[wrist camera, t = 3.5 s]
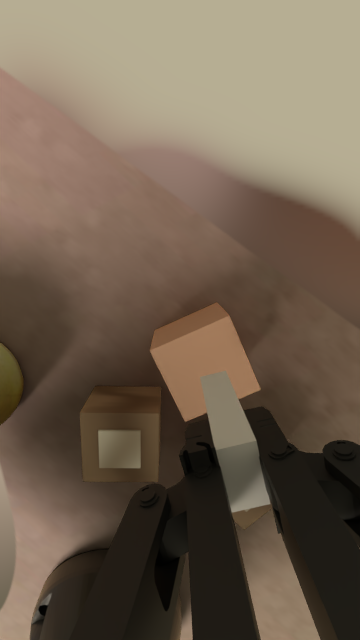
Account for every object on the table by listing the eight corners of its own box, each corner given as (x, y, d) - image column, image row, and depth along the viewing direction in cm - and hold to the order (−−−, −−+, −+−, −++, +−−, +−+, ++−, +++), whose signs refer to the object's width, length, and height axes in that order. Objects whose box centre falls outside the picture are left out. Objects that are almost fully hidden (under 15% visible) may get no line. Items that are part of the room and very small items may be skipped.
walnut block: (97, 443, 29) (82, 483, 24) (95, 385, 28) (78, 414, 23) (160, 444, 29) (157, 483, 24) (161, 386, 28) (158, 414, 23)
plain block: (182, 387, 28) (185, 421, 22) (154, 329, 27) (149, 350, 21) (242, 361, 28) (261, 389, 22) (216, 302, 27) (229, 315, 21)
